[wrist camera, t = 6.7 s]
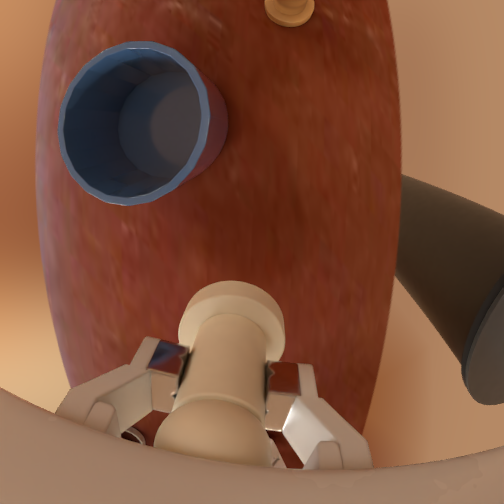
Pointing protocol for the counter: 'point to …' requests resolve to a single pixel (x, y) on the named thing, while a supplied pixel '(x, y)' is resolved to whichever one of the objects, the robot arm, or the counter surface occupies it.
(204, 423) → the ivory pawn
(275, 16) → the maple pawn
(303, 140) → the counter surface
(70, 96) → the cup
